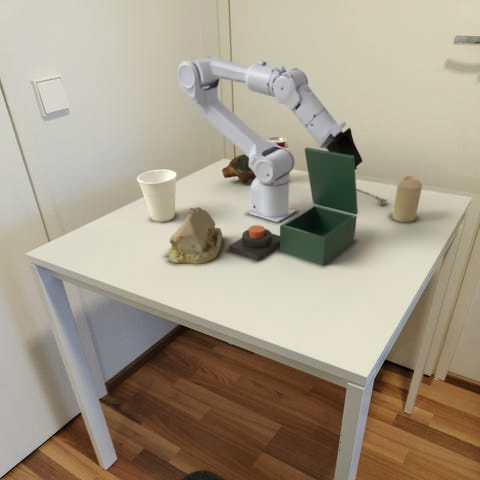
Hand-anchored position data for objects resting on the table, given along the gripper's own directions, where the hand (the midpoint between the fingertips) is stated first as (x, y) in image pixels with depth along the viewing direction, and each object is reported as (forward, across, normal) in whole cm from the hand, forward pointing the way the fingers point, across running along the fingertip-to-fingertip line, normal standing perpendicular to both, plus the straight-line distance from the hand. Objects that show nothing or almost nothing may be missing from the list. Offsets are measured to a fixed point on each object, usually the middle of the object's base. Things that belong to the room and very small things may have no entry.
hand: (355, 168), depth 98 cm
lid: (-1, -3, +6) cm, 7 cm away
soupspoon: (+3, +28, -1) cm, 28 cm away
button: (-3, -1, +26) cm, 26 cm away
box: (+8, +1, +17) cm, 19 cm away
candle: (+16, +14, -5) cm, 22 cm away
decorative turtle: (-23, +36, +16) cm, 45 cm away
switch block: (-1, 0, +27) cm, 27 cm away
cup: (-23, +15, +42) cm, 50 cm away
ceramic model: (-9, -1, +38) cm, 39 cm away
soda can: (-14, +38, +12) cm, 42 cm away
